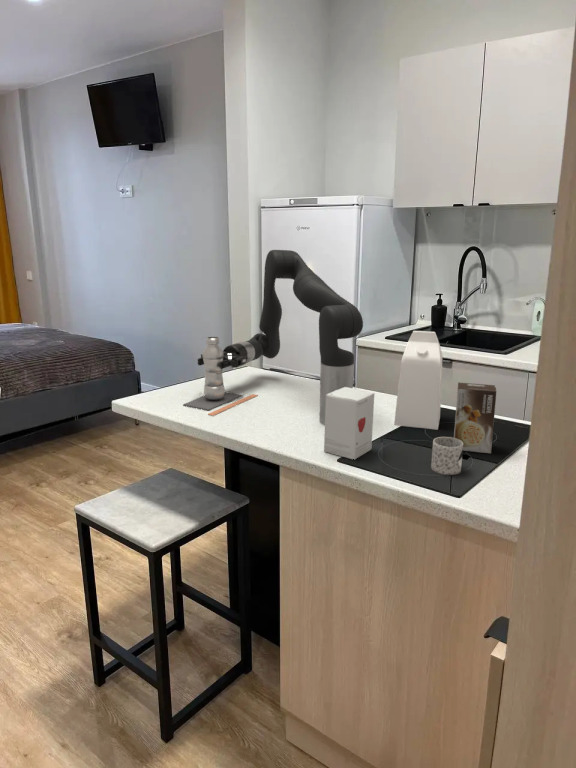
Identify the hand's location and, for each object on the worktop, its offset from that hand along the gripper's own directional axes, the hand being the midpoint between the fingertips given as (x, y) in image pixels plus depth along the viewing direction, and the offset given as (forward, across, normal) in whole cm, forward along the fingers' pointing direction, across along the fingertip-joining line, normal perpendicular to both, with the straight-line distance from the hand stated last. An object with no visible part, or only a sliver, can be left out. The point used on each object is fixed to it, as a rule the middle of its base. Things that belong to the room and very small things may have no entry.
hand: (209, 363), depth 173 cm
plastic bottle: (-2, 0, +12) cm, 12 cm away
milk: (-16, +62, +13) cm, 65 cm away
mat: (-2, 0, +12) cm, 13 cm away
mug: (+12, +77, +13) cm, 79 cm away
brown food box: (-4, +80, +13) cm, 81 cm away
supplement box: (+14, +54, +13) cm, 57 cm away
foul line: (-2, +8, +12) cm, 15 cm away
